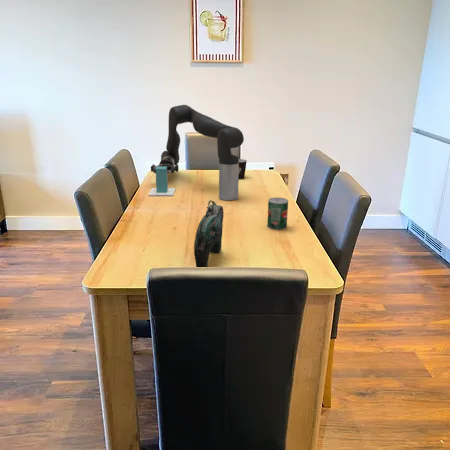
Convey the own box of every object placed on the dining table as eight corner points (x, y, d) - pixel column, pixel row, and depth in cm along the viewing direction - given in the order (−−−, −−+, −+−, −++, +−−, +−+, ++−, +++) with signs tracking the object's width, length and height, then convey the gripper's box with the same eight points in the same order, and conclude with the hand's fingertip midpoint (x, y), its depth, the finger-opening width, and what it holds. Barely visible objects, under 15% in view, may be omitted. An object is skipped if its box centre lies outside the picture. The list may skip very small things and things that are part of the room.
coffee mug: (249, 177, 254) (249, 160, 250) (241, 180, 247) (241, 162, 243) (231, 174, 260) (231, 157, 256) (223, 177, 253) (223, 160, 249)
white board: (175, 189, 229) (175, 188, 228) (173, 196, 217) (173, 194, 217) (152, 189, 229) (152, 187, 228) (148, 196, 217) (148, 194, 217)
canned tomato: (289, 229, 176) (291, 202, 172) (269, 230, 175) (271, 203, 171) (283, 222, 184) (285, 197, 180) (265, 223, 182) (266, 197, 179)
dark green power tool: (210, 247, 159) (210, 193, 152) (227, 249, 157) (228, 194, 150) (190, 270, 141) (189, 210, 134) (210, 273, 139) (209, 212, 132)
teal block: (167, 189, 225) (166, 166, 221) (166, 192, 220) (165, 168, 216) (157, 189, 225) (156, 166, 221) (156, 192, 220) (155, 168, 216)
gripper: (153, 157, 241) (148, 164, 225) (179, 157, 241) (177, 164, 226) (154, 171, 243) (149, 178, 228) (180, 171, 243) (177, 178, 228)
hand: (163, 171), depth 227 cm, fingers open, 8 cm apart
